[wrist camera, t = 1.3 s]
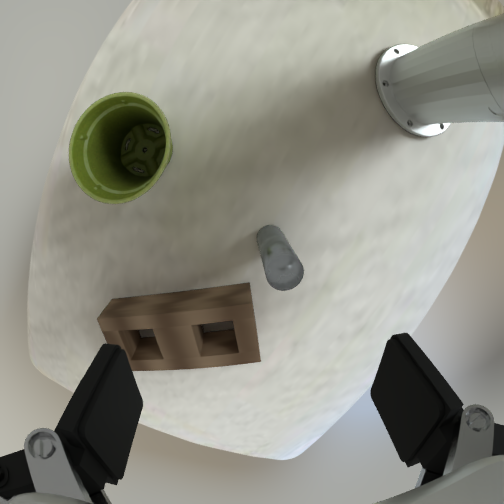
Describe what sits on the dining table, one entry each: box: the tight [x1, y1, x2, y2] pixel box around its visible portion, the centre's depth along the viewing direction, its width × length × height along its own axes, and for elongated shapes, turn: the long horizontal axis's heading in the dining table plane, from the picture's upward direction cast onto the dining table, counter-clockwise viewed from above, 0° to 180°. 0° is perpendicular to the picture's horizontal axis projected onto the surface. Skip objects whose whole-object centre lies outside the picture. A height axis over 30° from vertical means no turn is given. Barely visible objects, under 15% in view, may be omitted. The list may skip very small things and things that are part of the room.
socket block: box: [97, 283, 261, 371], centre depth 32 cm, size 18×8×5 cm, turn 97°
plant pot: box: [69, 92, 173, 204], centre depth 23 cm, size 9×9×9 cm
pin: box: [257, 225, 304, 291], centre depth 27 cm, size 3×3×10 cm
